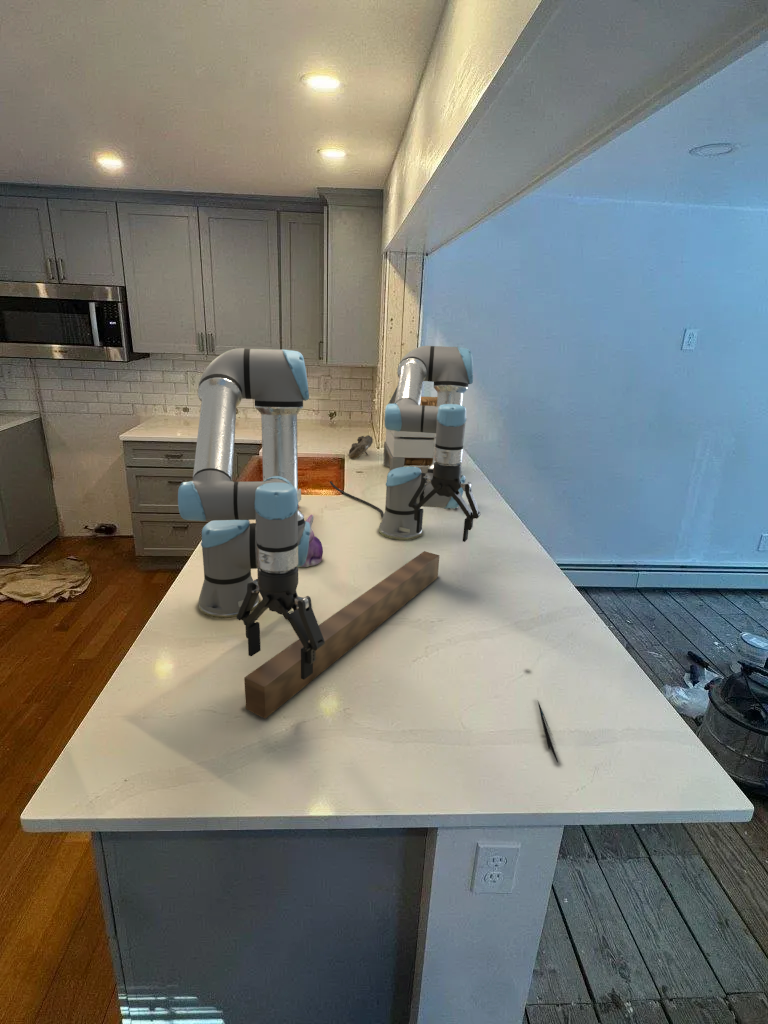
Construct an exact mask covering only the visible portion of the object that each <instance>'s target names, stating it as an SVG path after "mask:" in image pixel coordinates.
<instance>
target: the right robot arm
mask: <svg viewBox="0 0 768 1024" xmlns="http://www.w3.org/2000/svg"><path fill="white" fill-rule="evenodd" d="M473 360H474V359H473V354H472V351H471V350H470V349H469V348H467V347H460V346H440V345H439V346H438V345H421V346H418V347H416V348H414V349H412V350H410V351H409V352H407V353H405V355H404V356H403V357H402V358H401V360H400V361H399V364H398V366H397V369H396V371H397V373H396V374H397V377H398V382H397V386H398V387H397V386H396V388H397V392H396V398H395V403H394V404H386V405H385V410H384V428H385V430H386V429H388V430H394V431H407V432H423V433H435V436H434V449H433V463H432V464H431V465H430V466H429V465H428V466H427V472H422V469H421V468H420V467H419V466H418V467H417V466H404V467H399V468H395V469H393V470H391V471H390V470H389V471H388V473H387V475H386V482H385V487H386V488H385V489H386V490H385V504H384V505H385V507H384V508H385V509H384V511H383V509H381V508H380V507H378V506H376V505H374V504H372V503H370V502H368V501H366V500H365V499H362V498H359V497H357V496H354V495H352V494H349V493H348V492H346V491H344V490H342V489H340V488H339V487H337V485H335V484H334V482H333V481H331V480H330V481H329V484H330V485H331V486H332V488H333V489H335V490H336V491H338V492H339V493H341V494H342V495H345V496H346V497H349V498H350V499H351V498H352V499H354V500H356V501H358V502H359V503H362V504H364V505H367V506H369V507H372V508H373V509H375V510H377V512H379V513H380V516H381V522H379V525H378V533H379V534H380V535H381V536H382V537H385V538H387V539H389V540H395V541H410V540H415V539H418V538H420V537H421V536H422V535H423V520H424V508H436V509H444V510H447V509H448V508H450V509H455V508H457V509H458V508H460V509H461V511H462V512H463V514H464V515H465V518H464V522H463V531H462V543H463V542H464V543H465V542H467V540H469V539H468V538H469V531H471V530H472V529H473V527H474V526H473V525H474V520H475V519H479V518H480V516H481V512H480V511H481V510H480V509H479V505H478V503H477V500H476V498H475V496H474V492H473V489H472V487H473V485H472V482H470V481H468V482H466V476H465V475H463V474H462V462H463V455H464V454H463V452H464V441H465V431H466V422H467V408H466V407H465V406H464V405H463V400H464V393H466V391H468V389H469V385H471V384H473V383H474V361H473ZM423 382H431V383H433V389H434V390H435V391H436V393H437V395H436V397H437V406H424V405H423V406H422V405H420V400H421V397H422V390H423ZM460 463H461V464H460ZM464 493H465V497H466V499H467V502H468V503H467V502H466V500H465V499H464V498H463V494H464ZM468 504H469V505H468ZM422 507H424V508H422Z"/></svg>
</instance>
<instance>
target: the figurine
mask: <svg viewBox="0 0 768 1024" xmlns="http://www.w3.org/2000/svg"><path fill="white" fill-rule="evenodd" d="M314 518H315V517H314V514H312V513H311V514H310V515H309V516H308V517H307V519H306V520H305V519H304V522H305V521H306V522H309V523H310V535H309V546H308V553H307V558H306V562H305V563H304V565H302V566H301V567H303V568H308V567H310V566H312V567H313V566H316V565H318V564H321V562H322V561H323V554H324V548H323V544H322V542H321V540H320V538H318V536H315V532H314V530H313V528H312V525H313V523H314Z"/></svg>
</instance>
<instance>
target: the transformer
mask: <svg viewBox="0 0 768 1024" xmlns="http://www.w3.org/2000/svg"><path fill="white" fill-rule="evenodd" d="M397 387H398V385H397V386H396V388H395V390H394V392H393V394H392V395H391V398H390V400H389V402H388V404H394V403H395V398H396V392H397ZM420 405H422V406H423V405H424V406H437V396H421V400H420ZM434 436H435V433H423V432H407V431H394V430H388V429H386V428H385V438H384V442H383V466H384V467H388V468H389V472H390V471H391V470H393V469H395V468H399V467H405V466H406V467H408V466H411V467H417V466H418V467H429V466H430V465H431V464H432V463H433V449H434ZM460 464H461V465H462V462H461V463H460Z"/></svg>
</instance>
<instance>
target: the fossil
mask: <svg viewBox="0 0 768 1024" xmlns="http://www.w3.org/2000/svg"><path fill="white" fill-rule="evenodd" d="M373 443H374V442H373V437H372V436H371V435H366V436H365V435H361V436H358V437H357V442H353V443H352V444H351V447H350V448H349V450H348V457H349V459H353V460H354V459H356V458H358V457H360V456H361V455H363V454H366V456H368V455H369V454H368V452H367V450H368V449H369V448H371V446H372V444H373Z"/></svg>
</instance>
